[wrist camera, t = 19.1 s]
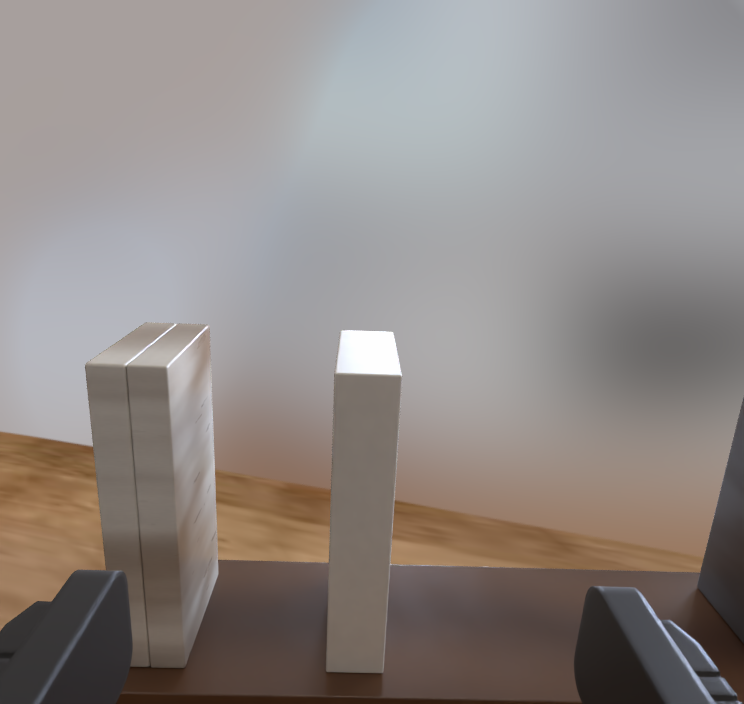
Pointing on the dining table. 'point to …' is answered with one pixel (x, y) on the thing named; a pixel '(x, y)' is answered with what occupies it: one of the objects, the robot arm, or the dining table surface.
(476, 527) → the dining table surface
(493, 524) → the dining table surface
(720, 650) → the book rack
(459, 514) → the dining table surface
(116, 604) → the robot arm
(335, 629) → the white book
